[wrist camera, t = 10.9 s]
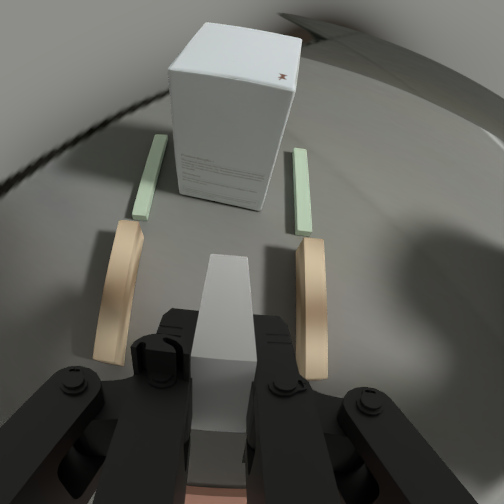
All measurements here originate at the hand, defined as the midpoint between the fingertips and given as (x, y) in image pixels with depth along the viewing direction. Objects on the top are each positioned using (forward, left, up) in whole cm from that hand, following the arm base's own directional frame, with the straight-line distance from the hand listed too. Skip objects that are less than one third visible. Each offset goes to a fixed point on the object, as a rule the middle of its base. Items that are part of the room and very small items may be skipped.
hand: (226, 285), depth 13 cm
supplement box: (-10, -10, -10) cm, 17 cm away
